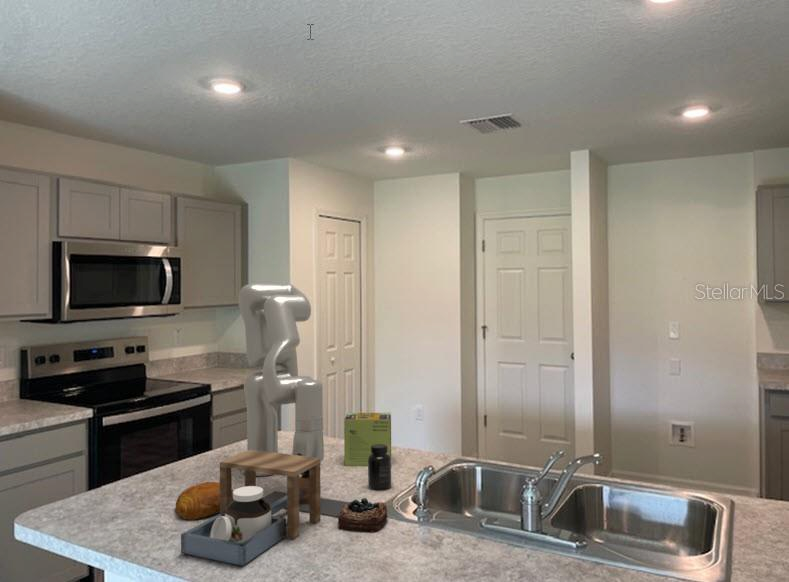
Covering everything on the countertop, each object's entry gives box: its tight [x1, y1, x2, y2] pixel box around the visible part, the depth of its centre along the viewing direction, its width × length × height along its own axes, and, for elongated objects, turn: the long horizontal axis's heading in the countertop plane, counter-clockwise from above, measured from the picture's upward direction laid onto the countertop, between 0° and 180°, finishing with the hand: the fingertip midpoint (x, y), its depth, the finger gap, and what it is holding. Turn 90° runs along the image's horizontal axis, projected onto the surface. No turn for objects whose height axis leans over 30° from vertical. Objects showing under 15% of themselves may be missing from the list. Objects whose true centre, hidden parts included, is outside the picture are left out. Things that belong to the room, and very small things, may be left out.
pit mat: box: [263, 490, 350, 518], centre depth 160 cm, size 26×10×1 cm, turn 67°
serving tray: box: [180, 475, 309, 567], centre depth 144 cm, size 16×38×7 cm, turn 157°
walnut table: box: [219, 450, 322, 540], centre depth 147 cm, size 21×12×16 cm, turn 67°
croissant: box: [175, 481, 234, 521], centre depth 157 cm, size 14×16×8 cm
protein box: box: [343, 412, 392, 467], centre depth 200 cm, size 10×15×16 cm
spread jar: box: [210, 485, 271, 543], centre depth 136 cm, size 12×11×12 cm
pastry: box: [337, 497, 389, 534], centre depth 147 cm, size 11×12×6 cm
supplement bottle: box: [367, 444, 392, 491], centre depth 174 cm, size 7×7×12 cm
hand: (309, 491), depth 164 cm, fingers closed
